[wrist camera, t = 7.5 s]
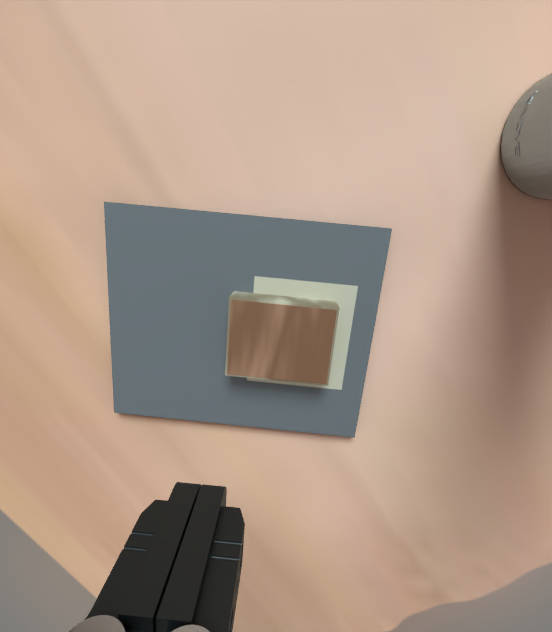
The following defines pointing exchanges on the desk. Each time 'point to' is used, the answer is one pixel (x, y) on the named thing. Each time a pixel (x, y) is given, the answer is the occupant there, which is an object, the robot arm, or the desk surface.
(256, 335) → the birch tile
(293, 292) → the rubber mat
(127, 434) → the desk surface
